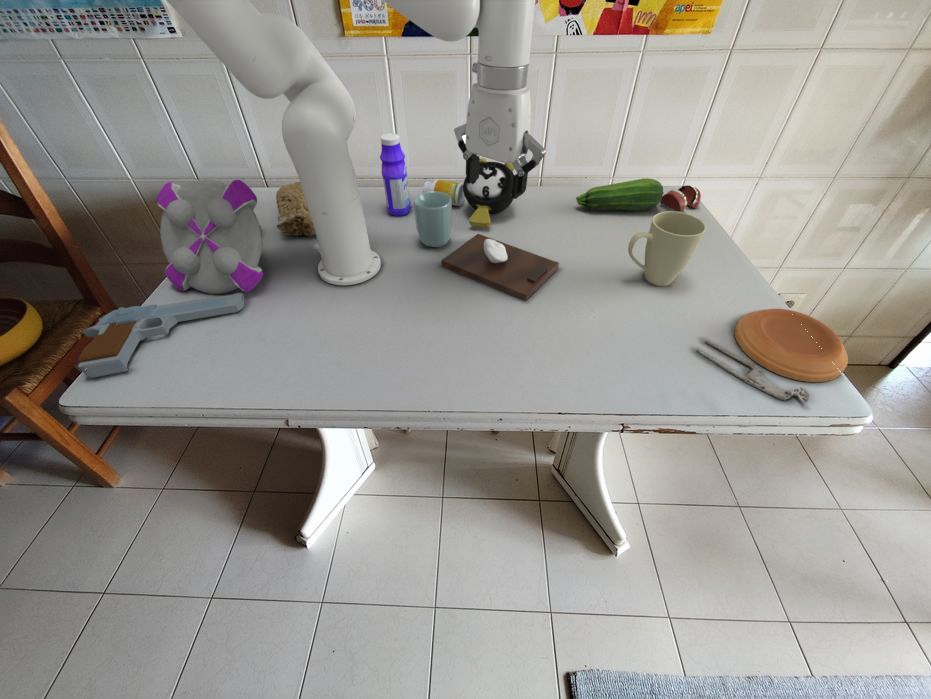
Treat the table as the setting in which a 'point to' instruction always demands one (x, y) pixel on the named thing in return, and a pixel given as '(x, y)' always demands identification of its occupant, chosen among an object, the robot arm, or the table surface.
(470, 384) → the table surface
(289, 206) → the sponge
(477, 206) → the alarm clock
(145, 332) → the handgun
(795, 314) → the saucer
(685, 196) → the dentures
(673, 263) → the mug
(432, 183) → the supplement bottle
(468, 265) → the bread board
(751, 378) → the nutcracker
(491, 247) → the dumpling
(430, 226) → the cup
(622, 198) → the vegetable
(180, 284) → the toy
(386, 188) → the bottle
